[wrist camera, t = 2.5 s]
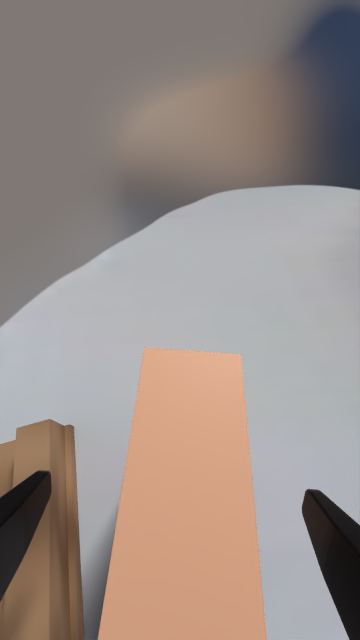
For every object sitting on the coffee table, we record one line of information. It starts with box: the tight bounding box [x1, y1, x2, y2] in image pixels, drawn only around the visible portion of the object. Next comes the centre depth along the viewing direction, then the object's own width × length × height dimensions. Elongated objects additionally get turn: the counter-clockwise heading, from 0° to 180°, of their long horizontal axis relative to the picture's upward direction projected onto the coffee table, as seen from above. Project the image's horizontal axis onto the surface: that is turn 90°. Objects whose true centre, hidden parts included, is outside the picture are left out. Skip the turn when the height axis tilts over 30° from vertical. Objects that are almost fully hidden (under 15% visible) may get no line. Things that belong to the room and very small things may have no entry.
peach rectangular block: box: [98, 347, 267, 640], centre depth 10 cm, size 5×2×13 cm, turn 176°
